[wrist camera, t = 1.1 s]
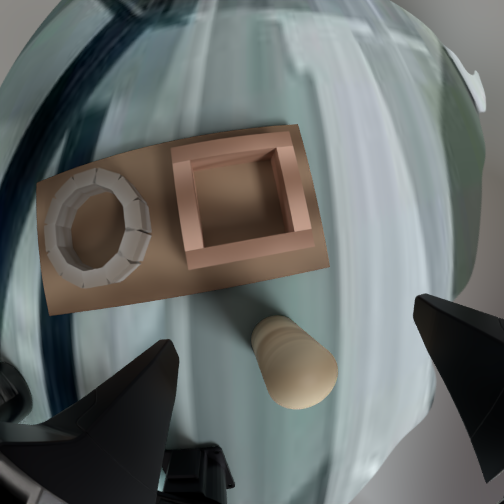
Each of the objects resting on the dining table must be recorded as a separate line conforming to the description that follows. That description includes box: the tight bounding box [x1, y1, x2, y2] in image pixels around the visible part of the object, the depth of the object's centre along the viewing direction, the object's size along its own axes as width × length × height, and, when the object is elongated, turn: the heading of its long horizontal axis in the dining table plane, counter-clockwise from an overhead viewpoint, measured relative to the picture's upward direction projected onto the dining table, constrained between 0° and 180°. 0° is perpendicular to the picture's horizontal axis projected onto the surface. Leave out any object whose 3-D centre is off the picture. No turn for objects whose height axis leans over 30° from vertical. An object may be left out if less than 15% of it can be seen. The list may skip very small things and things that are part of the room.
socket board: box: [36, 124, 330, 316], centre depth 19 cm, size 12×24×4 cm, turn 100°
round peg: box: [251, 315, 338, 409], centre depth 17 cm, size 4×4×8 cm
